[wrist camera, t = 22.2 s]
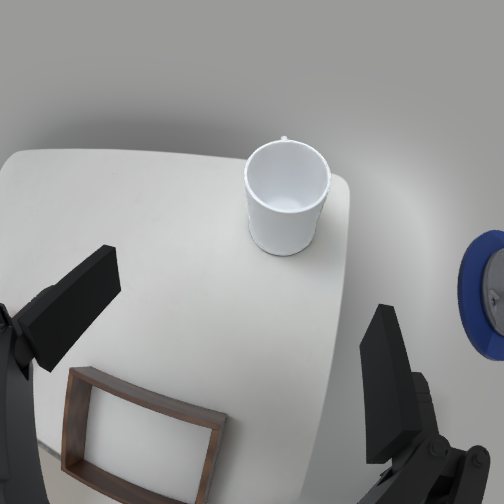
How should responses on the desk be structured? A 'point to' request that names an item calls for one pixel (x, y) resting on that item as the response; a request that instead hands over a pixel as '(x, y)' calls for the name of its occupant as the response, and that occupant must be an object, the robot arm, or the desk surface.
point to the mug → (285, 195)
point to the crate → (78, 395)
